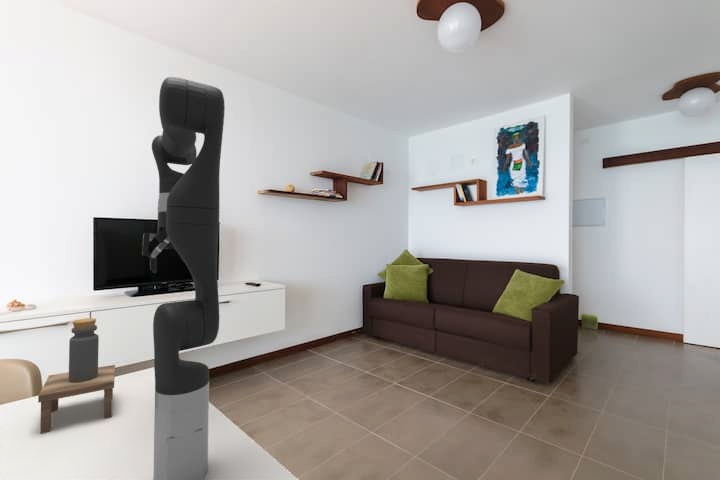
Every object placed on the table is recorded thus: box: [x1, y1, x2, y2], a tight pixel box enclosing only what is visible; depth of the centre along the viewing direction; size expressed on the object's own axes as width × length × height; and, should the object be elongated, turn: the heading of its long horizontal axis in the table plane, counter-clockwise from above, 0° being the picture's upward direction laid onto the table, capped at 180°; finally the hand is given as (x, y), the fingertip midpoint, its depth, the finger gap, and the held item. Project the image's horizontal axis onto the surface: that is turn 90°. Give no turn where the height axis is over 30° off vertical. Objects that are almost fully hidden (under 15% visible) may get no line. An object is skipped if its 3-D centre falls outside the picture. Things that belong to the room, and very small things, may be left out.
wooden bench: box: [37, 364, 116, 434], centre depth 86 cm, size 14×14×9 cm
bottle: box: [68, 317, 100, 382], centre depth 87 cm, size 6×6×15 cm
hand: (173, 271), depth 90 cm, fingers open, 8 cm apart
